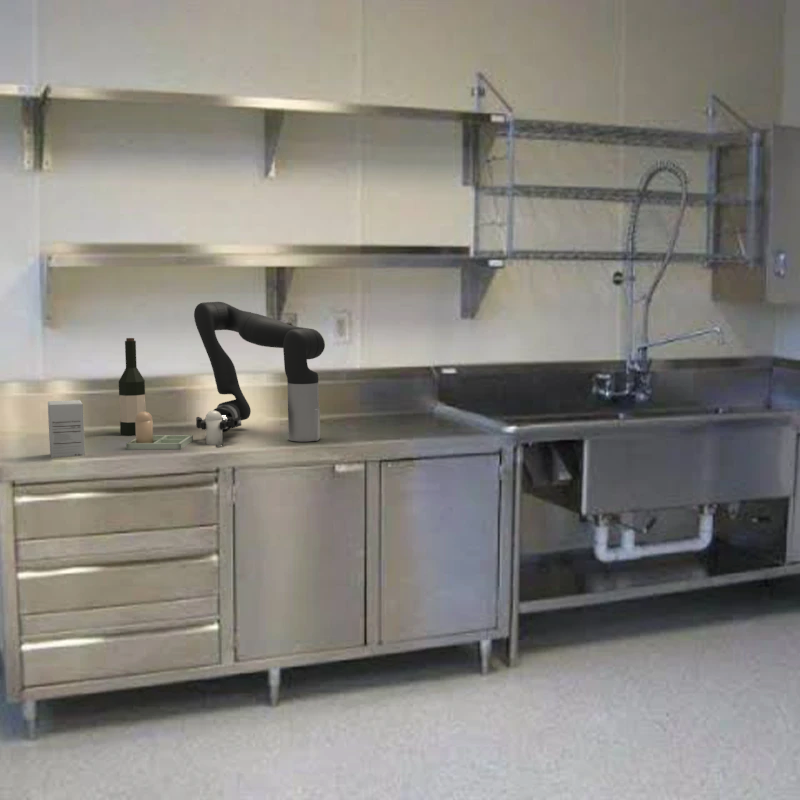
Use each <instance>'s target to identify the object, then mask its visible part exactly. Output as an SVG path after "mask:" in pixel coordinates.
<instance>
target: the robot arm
mask: <svg viewBox="0 0 800 800" xmlns="http://www.w3.org/2000/svg"><path fill="white" fill-rule="evenodd" d="M193 317H194V318H193V319H194V323H195V327H196V328H197V329H196V330H197V331H198V334H199V337H200V339H201V342H202V344H203V347H204V349H205V352H206V354H207V356H208V359H209V361H210V365H211V368H212V372H213V376H214V381H215V385H216V389H217V392H218V394H219V395H232V396H233V397H234V398H235V399H232V400H228V401H224V402H221V403H219V404H218V405H217V407H215V408H214V409H213V410H215V411H218V412H219V413H220V414H221V416H222V421H221V422H220V430H222V433H226V432H227V431H229V430H230V429H234V428H237V427H240V426H242V422H243V421H246V420H247V419H249V418H250V416H251V413H252V412H251V410H252V409H251V407H250V404H249V402H248V401H247V399H246V398H245V395H244V394H243V391H242V390H241V387H240V383H239V379H238V375H237V371H236V368H235V367H236V366H235V364H234V362H233V360H232V358H231V357H230V356H229V355H228V353H227V352H226V351H225V350H224V349H223V347H222V346H221V344H220V342H219V339H218V338H217V334H216V331H223V330H224V331H232V332H234V333H235V332H236V333H238V335H239V336H240V338H242V340H244V341H245V342H248V343H251V344H254V345H257V346H261V347H267V348H277V349H282V350H283V351H282V352H283V366H284V372H285V375H286V378H287V379H286V381H287V382H286V383H287V422H288V423H287V424H288V425H287V430H288V432H287V433H288V434H287V435H288V441H291V442H315V441H316V442H318V441H319V440H320V438H321V409H320V403H319V401H320V400H319V397H320V395H319V391H320V390H319V375H318V373H317V372H316V371H314V370H312V369H310V367H309V366H308V360H313V359H316V358H318V357H319V356H321V355H322V353H324V351H325V348H326V345H325V344H326V343H325V339H324V337H323V335H322V334H321V333H320V332H319V331H318V330H316V329H314V328H308V327H301V326H296V325H291V324H289V323H286V322H283V321H280V320H277V319H274V318H271V317H268V316H265V315H261V314H260V313H255V312H250V311H246V310H242V309H239V308H237V307H235V306H232V305H231V304H228V303H226V302H223V301H210V302H209V301H208V302H200V303H199V304H197V305H196V306H195V308H194V313H193ZM195 423H196V425H195V426H196V428H197V429H201V431H202V430H203V431H204V430H205V431H206V425H205V418H203V417H200V416H197V417H196V418H195Z"/></svg>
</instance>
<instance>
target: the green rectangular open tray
mask: <svg viewBox="0 0 800 800" xmlns="http://www.w3.org/2000/svg"><path fill="white" fill-rule="evenodd" d="M193 441H194V434H193V435H192V434H188V435H187V434H185V435H182V434H181V435H180V434H179V435H178V434H177V435H176V434H173V435H172V434H171V435H168V434H166V435H165V434H163V435H162V434H160V435H159V434H153V443H136V437H135V438H134V439H132V440H130V441H128V442H127V443H125V445H126V446H125V448H126V449H125V450H182V449H184V448H185V447H186V446H188V445H190V443H192V442H193Z"/></svg>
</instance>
